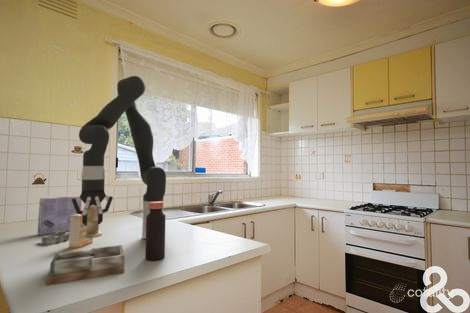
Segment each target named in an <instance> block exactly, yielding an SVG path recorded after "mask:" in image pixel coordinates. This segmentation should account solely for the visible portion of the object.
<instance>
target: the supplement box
mask: <svg viewBox="0 0 470 313" xmlns="http://www.w3.org/2000/svg"><path fill="white" fill-rule="evenodd" d="M86 215H87V212H86ZM83 233H86V225H85V226H84V224H83V223H82V215H81V214H75V215H70V231H69V240H68V248H75V249H76V248H77V249H78V248H81V247H84V246H86V245H89V244H92V243H93V242H94V240H93V239H94V238H83Z"/></svg>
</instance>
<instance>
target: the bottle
mask: <svg viewBox="0 0 470 313" xmlns="http://www.w3.org/2000/svg"><path fill="white" fill-rule="evenodd" d="M162 208H163V209H162ZM149 210H150V213H149V214H148V215H147V216H146V239H145V247H144V248H145V251H144V252H145V254H144V256H145V257H144V258H145V260H146V261H149V262H151V261H153V262H154V261H160V260H162V259H165V256H166V253H165V252H166V218H167V217H166V214H164V201H163V202H159V201H156V202H150V203H149ZM162 210H163V212H162Z"/></svg>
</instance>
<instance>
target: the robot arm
mask: <svg viewBox="0 0 470 313" xmlns="http://www.w3.org/2000/svg"><path fill="white" fill-rule="evenodd" d="M116 86H117V88H116V89H117V93H118V96H116V97H115V98H113V99H112V100H110V101H109V102H108V103H107V104H106V105H104V107H103V108H102V109H101V110H100V111H99V112H98V114H97V115H96V116H95V117H93V118H92V119H90V120H89V121H87V122H86V123H85V124H84V125H83V126H81V128H80V129H79V133H78V138H79V141H80V142H82V143H83V144H86V145H90V147H89V148H90V149H88V150H86V151H84V152H83V153H82V154H83V155H82V171H81V193H80V195H78V196H79V197H76V196H75V197H76V198H73V199H72V202H73V205H74V207H75V210H76V213H77V214H81V215H82V223H83V224H84V226H85V225H87V215H86V212H87V209H88V206H93V205H95V206H96V205H97V207H98V210H99V223H98V224H99V225H101V223H103V220H104V214H105V213H107V212H108V211H109V209H110V207H111V205H112V201H113V199H114V198H113V196H112V195H107V194H106V192H105V177H106V175H105V174H106V173H105V155H106V151H107V148H108V144H109V141H110V133H109V130H110V129H112V128H113V127H114V126H115V124H116V123H117V122H118V121H119V119H120V118H121V117H122V116H123V115H124V113H125V115H126V120H127V123H128V126H129V132H130V135H131V139H132V141H133V146H134V149H135V153H136V155H137V156H136V157H137V160H138V165H139V172H140V178H141V180H142V183H143V184H145V185H146V191H145V193H144V194H143V196H142V199H143V200H142V226H141V228H142V229H141V231H142V232H141V236H142V237H141V239H143V240H146V216H147V215H148V214H149V213H150V210H149V203H150V202H156V201H159V202H163V203H164V198H165V195H166V186H167V185H166V184H167V183H166V182H167V174H166V171H165V170H164V169H163V167H159V166H157V165H156V163H155V159H154V157H153V156H154V155H153V151H154V150H153V149H154V135H153V131H152V127H151V124H150V123H149V121H148V119H147V118H146V117H145V116H144V115H143V114H142V113H141V112H140V110H139V108H138V106H137V102H136V101H137V100H138V99H139V98H140V97H142V95H144V93H146V84H145V82H144V80H143V78H141V77H140V76H139V75H133V76H132V75H131V76H128V77H125V78H122V79H120V80H119V81H118V82H117V85H116ZM80 199H81V200H82V202H83V203H84V205H83V206H84V207H83V210H82V209H81V210H80V207H79V205H78V203H79V200H80ZM104 199H105V201H106V204H105V207H104V208H103V207H102V202H103V201H104ZM162 209H163V210H162V212H163V213H164V207H163V208H162Z"/></svg>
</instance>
